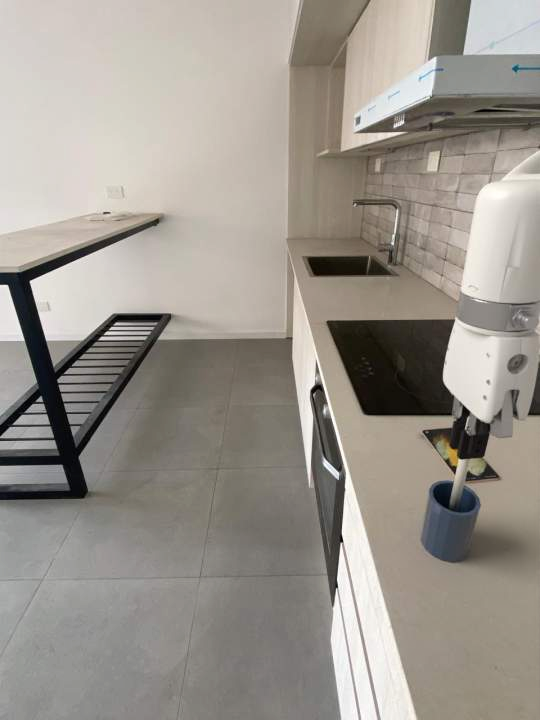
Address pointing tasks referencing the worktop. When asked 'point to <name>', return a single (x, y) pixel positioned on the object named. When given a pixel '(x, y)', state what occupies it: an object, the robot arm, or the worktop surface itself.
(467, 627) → the worktop surface
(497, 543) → the worktop surface
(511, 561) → the worktop surface
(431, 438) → the smartphone
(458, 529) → the pen pot
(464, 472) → the stylus
